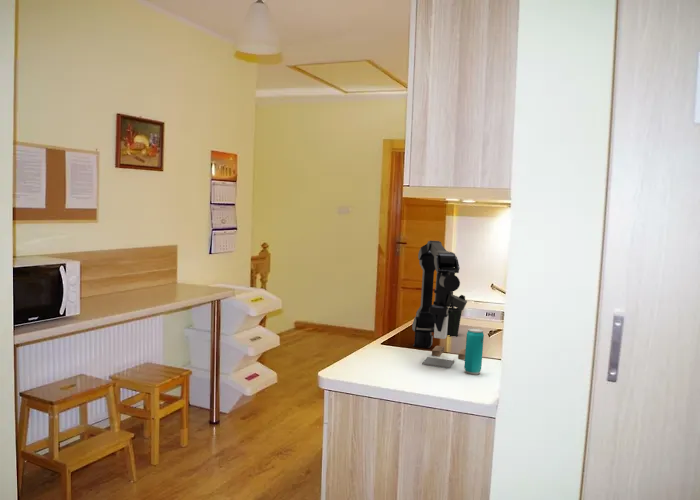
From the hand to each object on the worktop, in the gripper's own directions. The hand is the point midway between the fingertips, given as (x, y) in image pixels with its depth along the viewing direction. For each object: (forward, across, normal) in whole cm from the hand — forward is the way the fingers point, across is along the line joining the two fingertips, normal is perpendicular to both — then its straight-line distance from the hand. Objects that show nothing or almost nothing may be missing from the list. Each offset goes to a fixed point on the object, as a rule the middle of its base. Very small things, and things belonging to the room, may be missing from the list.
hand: (440, 330), depth 209 cm
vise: (+12, +15, -4) cm, 20 cm away
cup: (+12, +53, +4) cm, 55 cm away
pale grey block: (+3, 0, 0) cm, 3 cm away
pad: (+12, 0, 0) cm, 12 cm away
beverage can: (+12, -6, -13) cm, 19 cm away
